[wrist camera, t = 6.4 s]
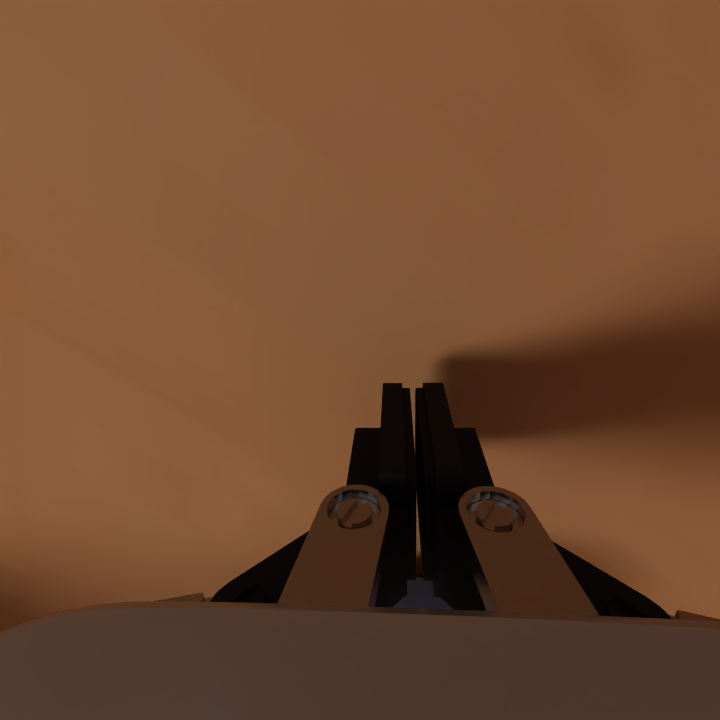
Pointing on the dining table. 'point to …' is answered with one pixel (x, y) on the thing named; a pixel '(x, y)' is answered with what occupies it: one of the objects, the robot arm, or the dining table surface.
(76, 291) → the dining table surface
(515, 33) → the dining table surface
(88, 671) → the robot arm
